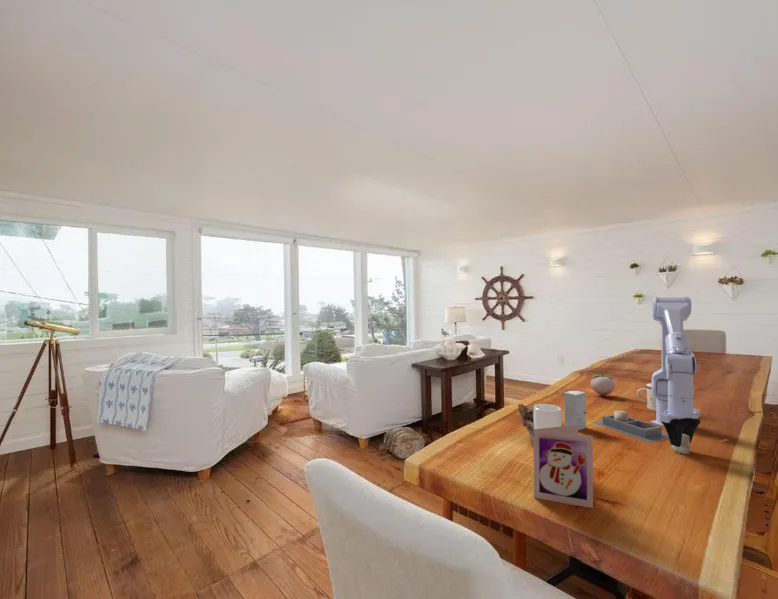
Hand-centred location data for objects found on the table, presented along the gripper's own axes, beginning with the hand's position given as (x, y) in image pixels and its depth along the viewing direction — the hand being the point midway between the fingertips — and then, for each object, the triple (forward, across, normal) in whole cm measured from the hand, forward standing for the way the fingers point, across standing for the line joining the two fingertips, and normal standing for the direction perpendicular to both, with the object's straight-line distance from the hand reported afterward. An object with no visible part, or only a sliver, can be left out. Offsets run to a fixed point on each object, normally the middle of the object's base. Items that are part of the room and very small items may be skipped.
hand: (680, 444), depth 106 cm
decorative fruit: (+2, +33, +50) cm, 60 cm away
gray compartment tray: (+2, +3, +16) cm, 17 cm away
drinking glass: (+2, -41, +8) cm, 42 cm away
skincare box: (+2, -12, +25) cm, 28 cm away
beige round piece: (+1, +3, +20) cm, 20 cm away
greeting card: (+2, -50, -5) cm, 50 cm away
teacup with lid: (+2, +35, +29) cm, 46 cm away
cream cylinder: (+2, 0, 0) cm, 2 cm away
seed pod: (+2, -31, +20) cm, 37 cm away
